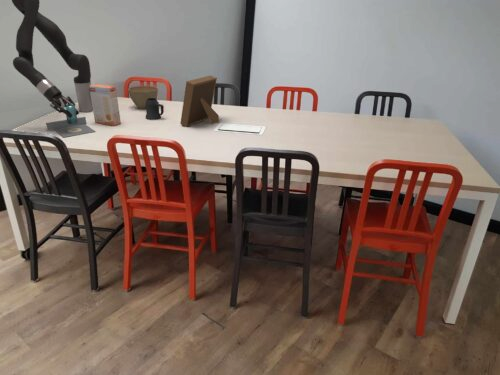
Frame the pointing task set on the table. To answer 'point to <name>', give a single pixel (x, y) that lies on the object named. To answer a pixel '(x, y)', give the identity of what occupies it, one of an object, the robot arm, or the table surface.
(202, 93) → the photo frame
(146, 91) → the flower pot
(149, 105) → the mug
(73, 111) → the tin
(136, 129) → the table surface
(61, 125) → the low wall
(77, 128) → the mat
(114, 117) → the cracker box
